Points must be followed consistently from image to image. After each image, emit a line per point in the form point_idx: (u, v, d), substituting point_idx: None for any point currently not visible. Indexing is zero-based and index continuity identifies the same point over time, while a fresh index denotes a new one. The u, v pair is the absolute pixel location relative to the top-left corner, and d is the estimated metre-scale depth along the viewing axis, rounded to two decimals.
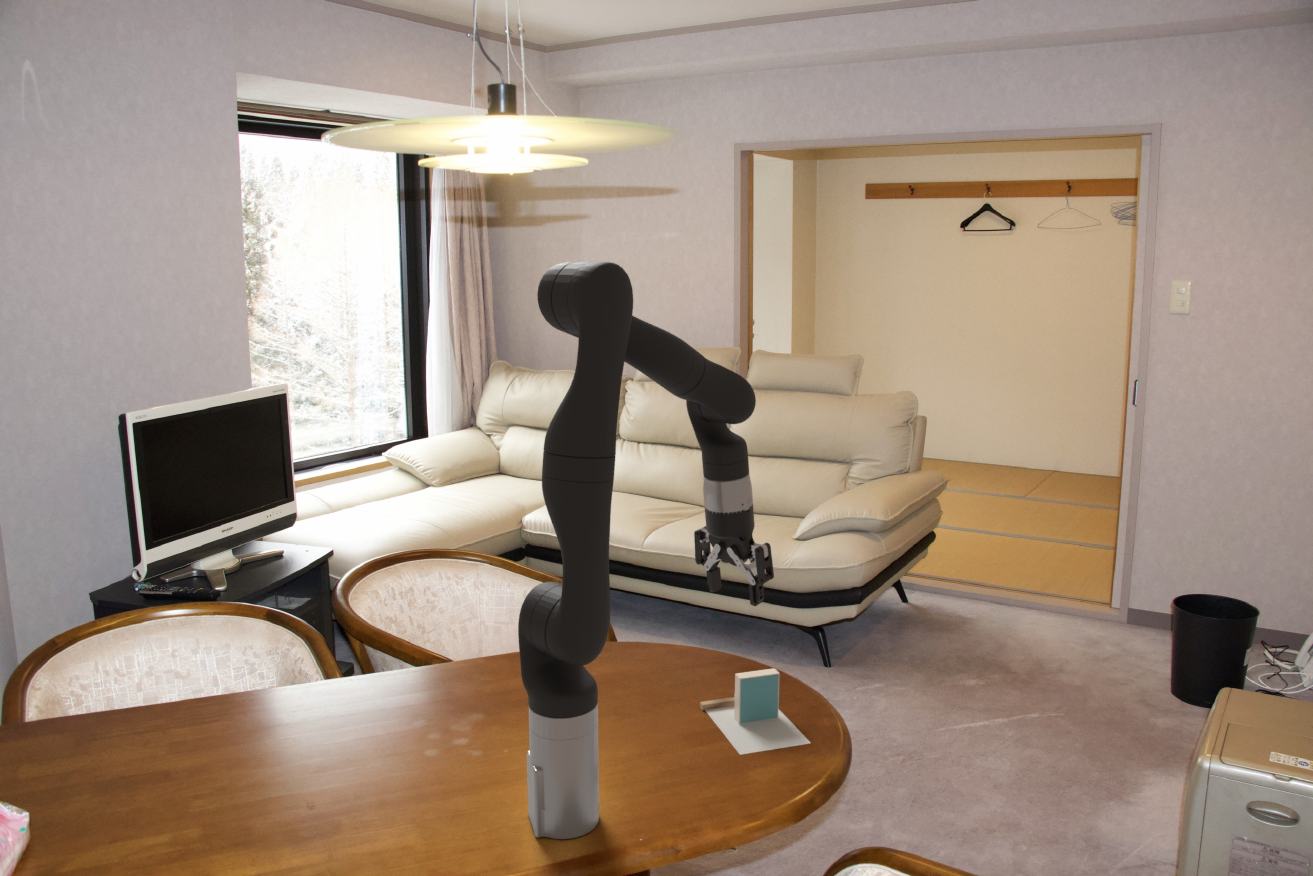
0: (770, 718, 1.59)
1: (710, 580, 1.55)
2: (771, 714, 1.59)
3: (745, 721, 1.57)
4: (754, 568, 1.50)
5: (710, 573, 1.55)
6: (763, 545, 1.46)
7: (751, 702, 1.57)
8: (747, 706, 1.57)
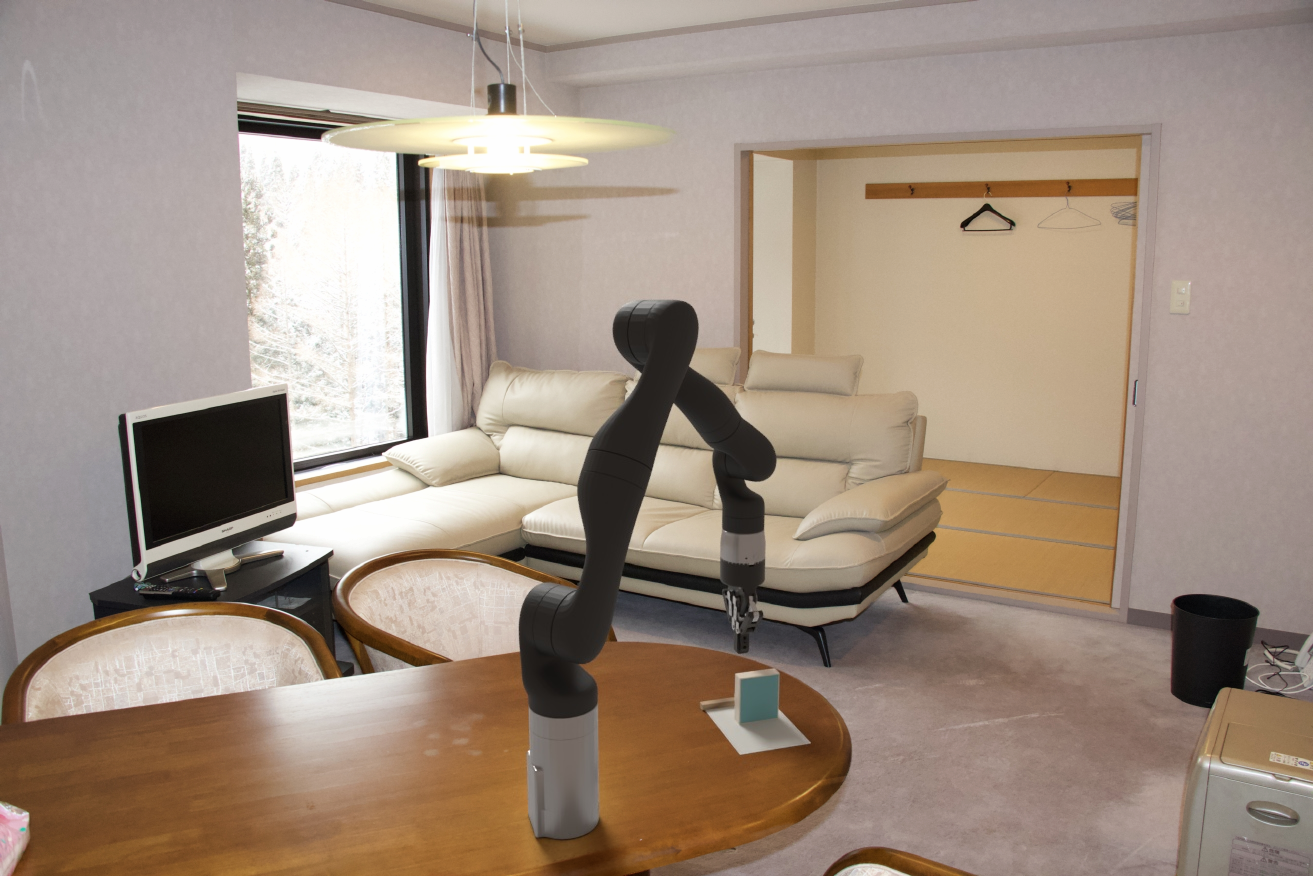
0: (770, 718, 1.59)
1: (734, 639, 1.64)
2: (771, 714, 1.59)
3: (745, 721, 1.57)
4: None
5: (735, 633, 1.64)
6: (756, 614, 1.57)
7: (751, 702, 1.57)
8: (747, 706, 1.57)
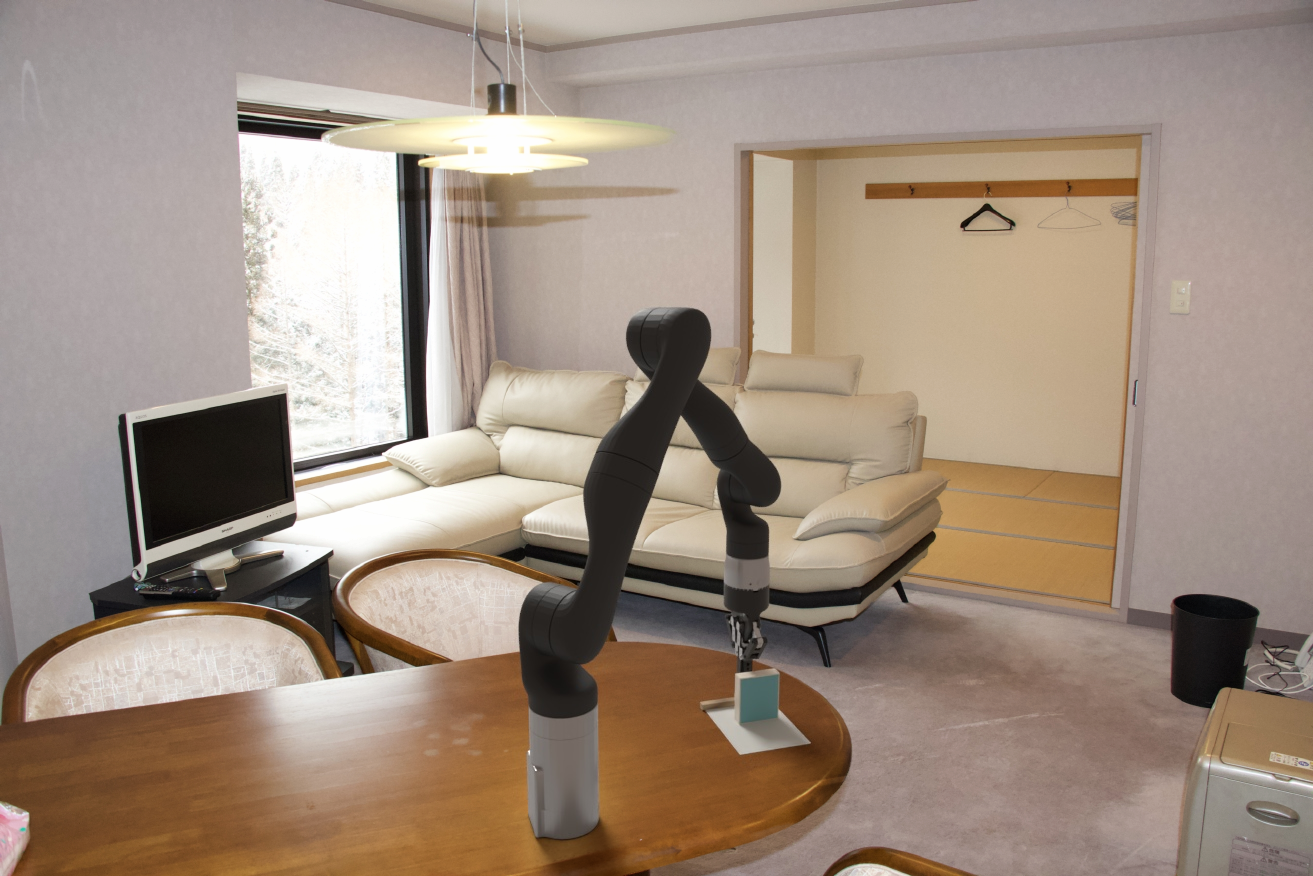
0: (770, 718, 1.59)
1: (738, 665, 1.62)
2: (771, 714, 1.59)
3: (745, 721, 1.57)
4: None
5: (738, 659, 1.62)
6: (760, 640, 1.55)
7: (751, 702, 1.57)
8: (747, 706, 1.57)
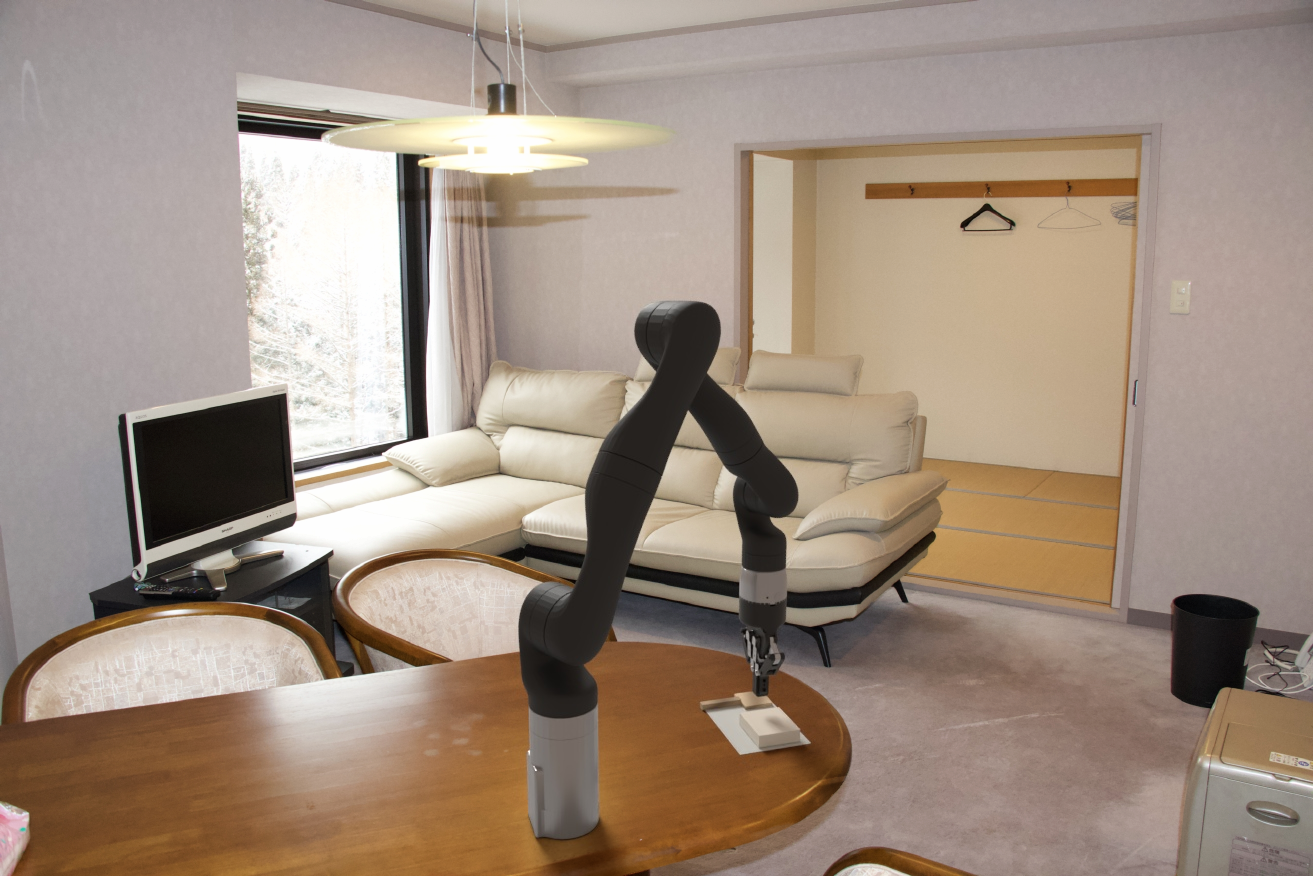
0: None
1: (753, 682, 1.56)
2: None
3: None
4: None
5: (754, 675, 1.56)
6: (778, 656, 1.49)
7: None
8: None
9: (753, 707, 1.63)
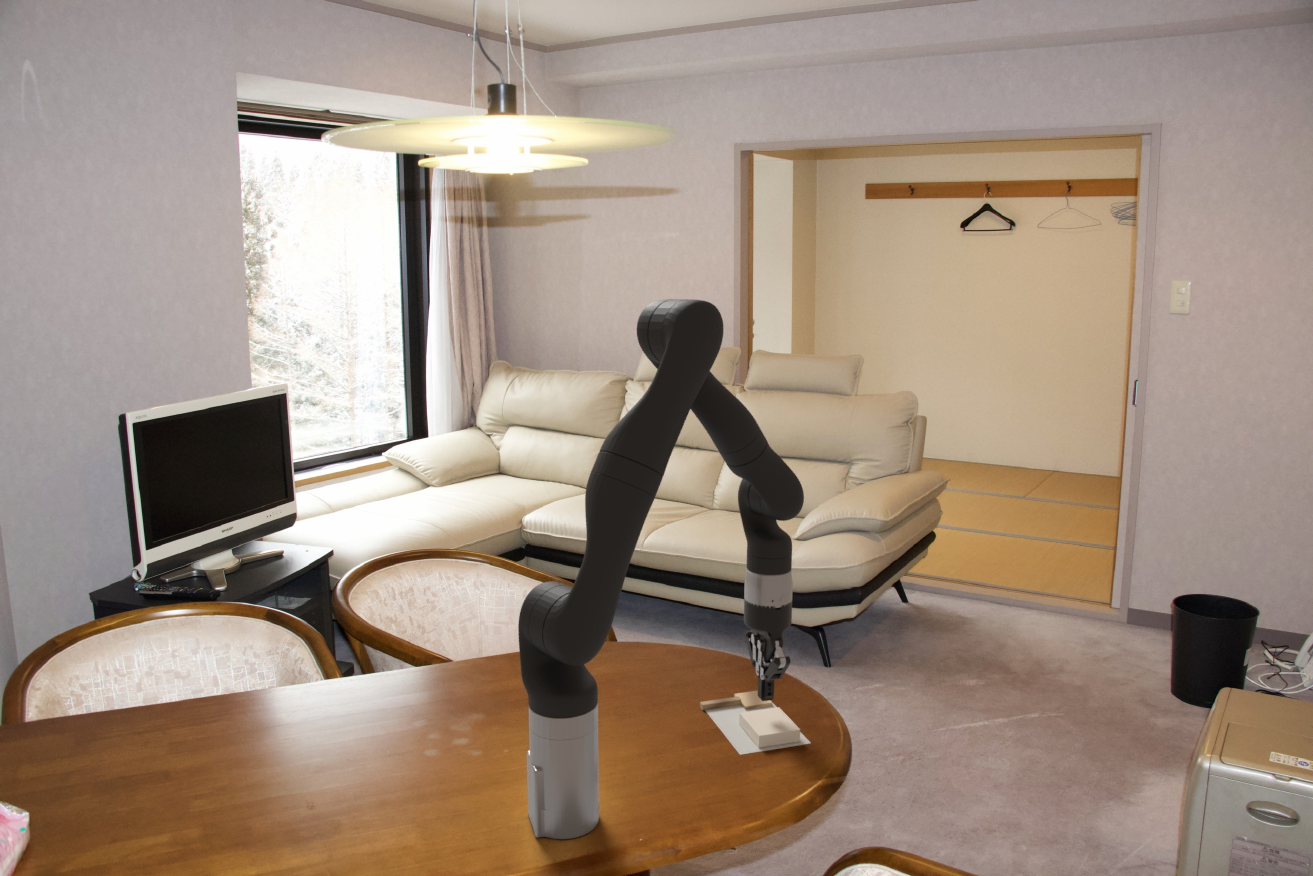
0: None
1: (758, 686, 1.55)
2: None
3: None
4: None
5: (759, 678, 1.54)
6: (783, 660, 1.48)
7: None
8: None
9: (753, 707, 1.63)
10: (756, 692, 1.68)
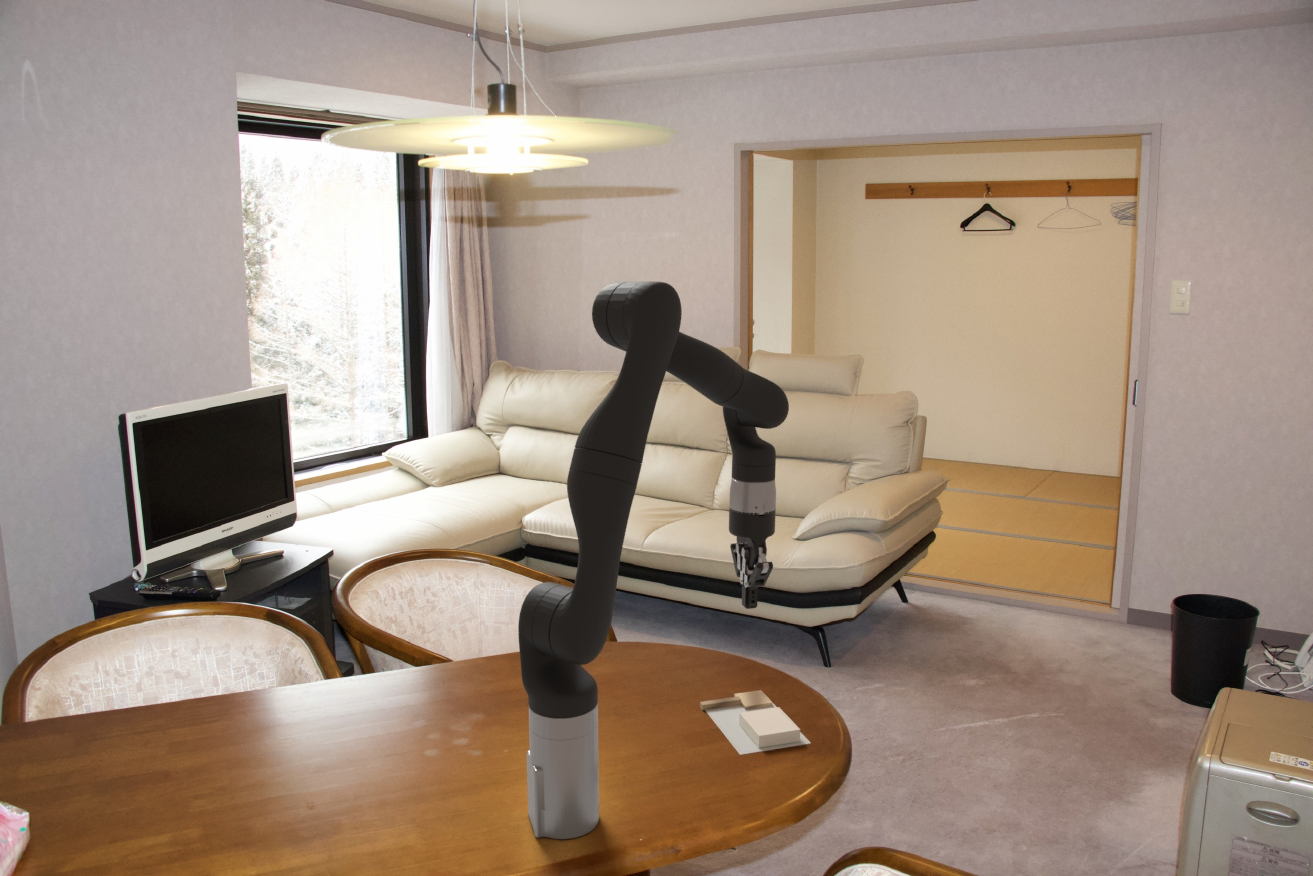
0: None
1: (742, 594, 1.59)
2: None
3: None
4: None
5: (743, 587, 1.59)
6: (766, 565, 1.53)
7: None
8: None
9: (753, 707, 1.63)
10: (756, 692, 1.68)
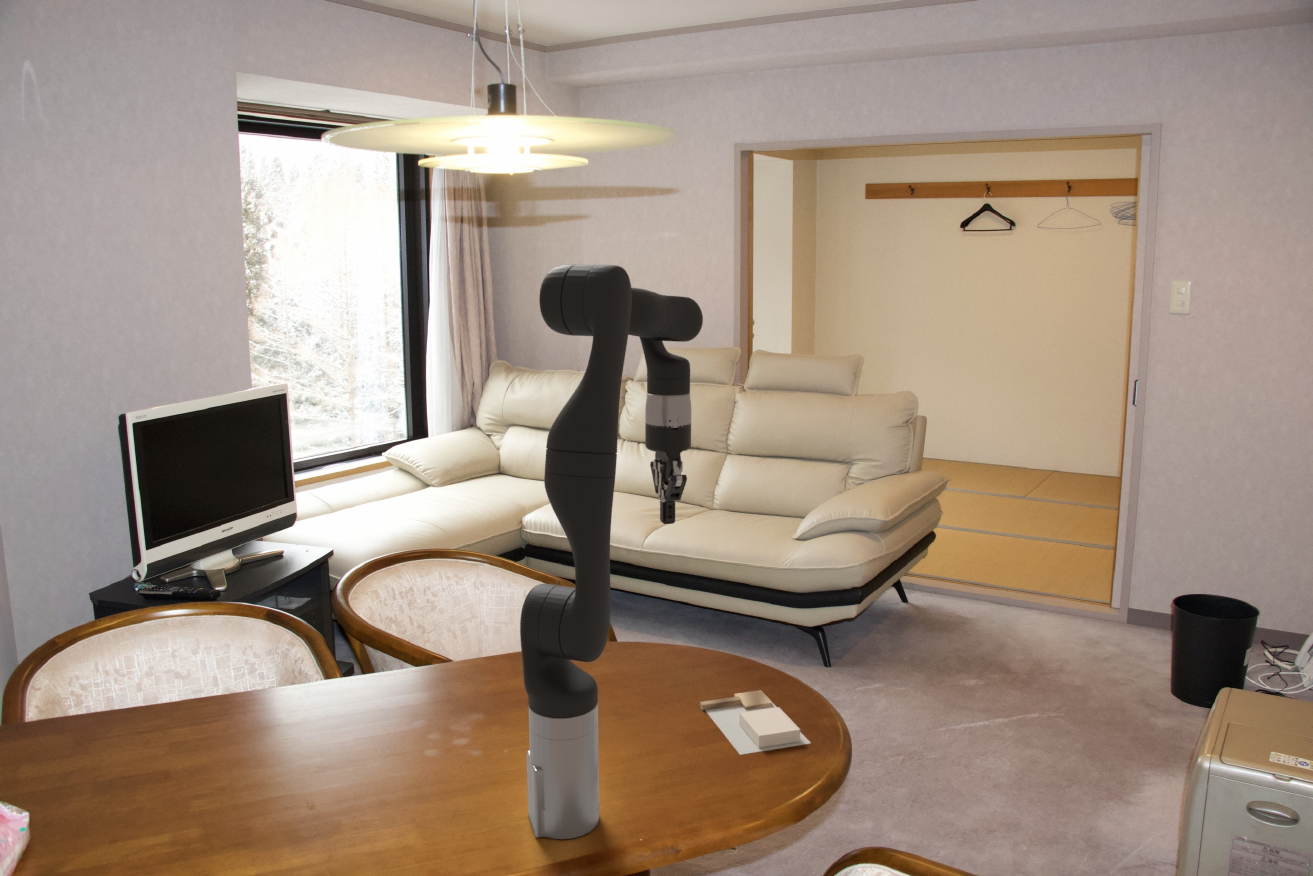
0: None
1: (660, 510, 1.61)
2: None
3: None
4: None
5: (661, 502, 1.60)
6: (679, 477, 1.54)
7: None
8: None
9: (753, 707, 1.63)
10: (756, 692, 1.68)
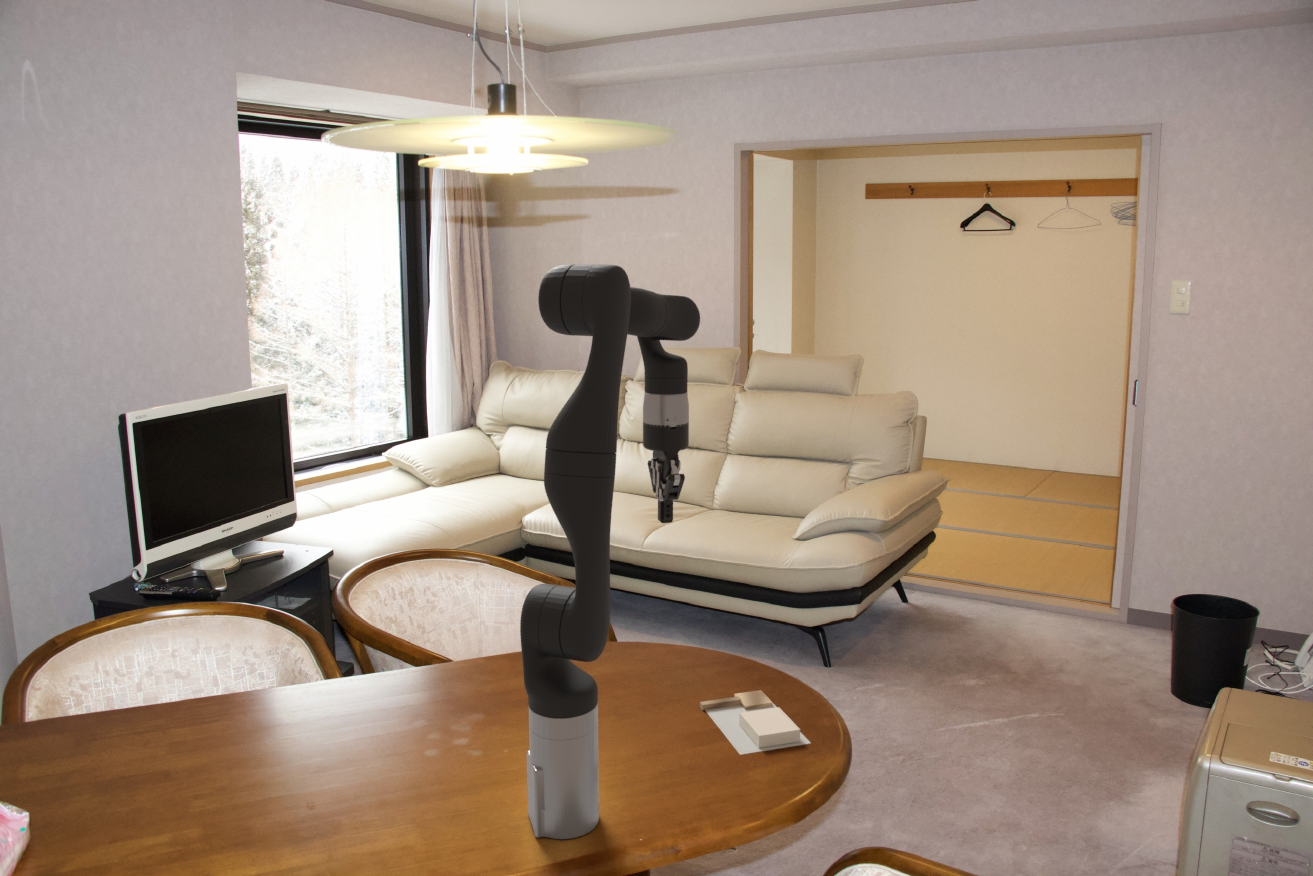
0: None
1: (658, 509, 1.61)
2: None
3: None
4: None
5: (659, 501, 1.60)
6: (677, 476, 1.54)
7: None
8: None
9: (753, 707, 1.63)
10: (756, 692, 1.68)
